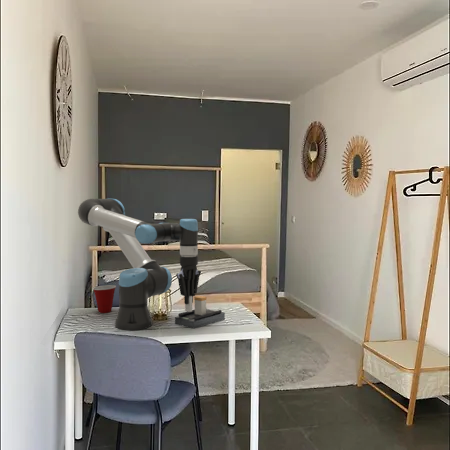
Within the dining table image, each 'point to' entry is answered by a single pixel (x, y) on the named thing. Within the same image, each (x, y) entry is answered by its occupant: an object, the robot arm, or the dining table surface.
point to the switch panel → (199, 318)
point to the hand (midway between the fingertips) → (188, 311)
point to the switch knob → (200, 305)
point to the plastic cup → (104, 297)
